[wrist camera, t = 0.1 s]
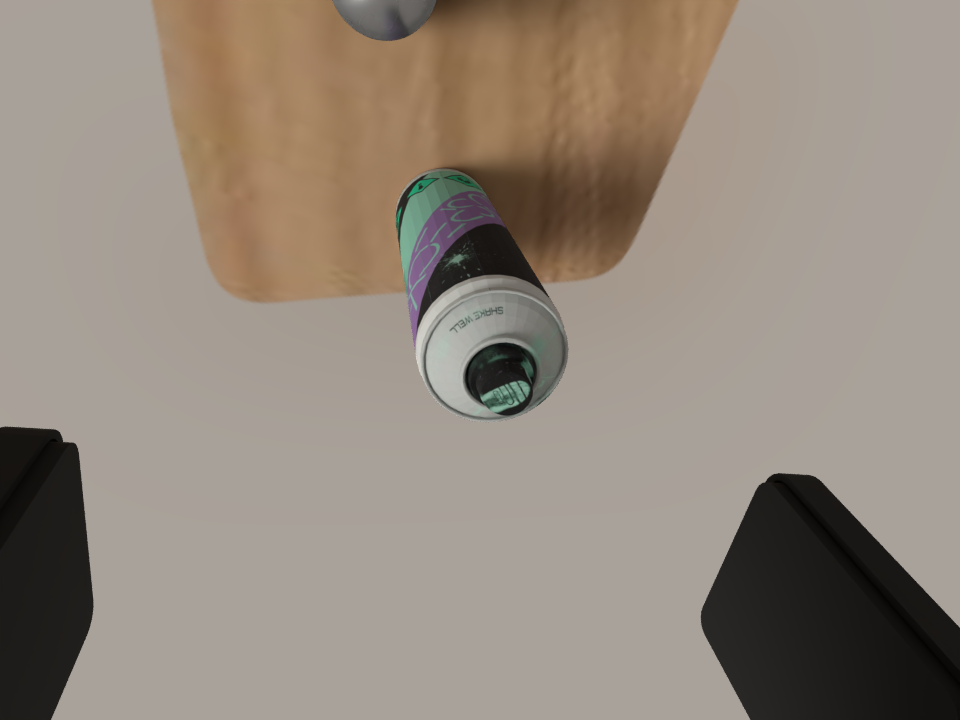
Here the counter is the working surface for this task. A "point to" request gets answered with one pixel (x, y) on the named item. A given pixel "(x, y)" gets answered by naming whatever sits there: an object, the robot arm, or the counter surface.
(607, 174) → the counter surface
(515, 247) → the spray can
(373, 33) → the long pin
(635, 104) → the counter surface
